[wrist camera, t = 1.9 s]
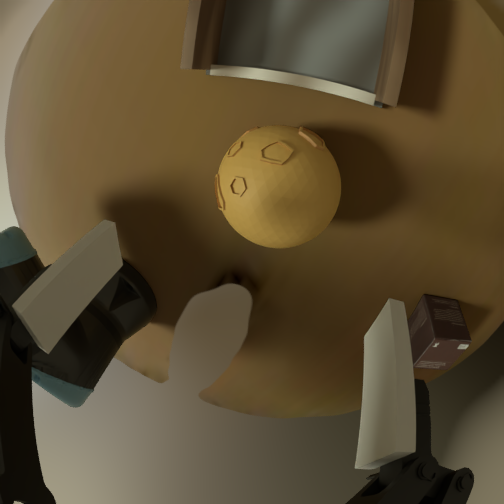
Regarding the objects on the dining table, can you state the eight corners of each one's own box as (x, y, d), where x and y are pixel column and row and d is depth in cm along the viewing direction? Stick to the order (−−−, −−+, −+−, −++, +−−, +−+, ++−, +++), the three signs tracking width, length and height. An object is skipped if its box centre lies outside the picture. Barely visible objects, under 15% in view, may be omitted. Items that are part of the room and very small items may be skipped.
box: (404, 324, 33) (409, 368, 27) (423, 292, 29) (434, 338, 23) (438, 329, 32) (446, 371, 26) (458, 299, 28) (472, 342, 22)
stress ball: (340, 195, 27) (376, 138, 17) (295, 279, 25) (320, 254, 15) (256, 150, 28) (255, 81, 18) (203, 226, 26) (175, 174, 16)
